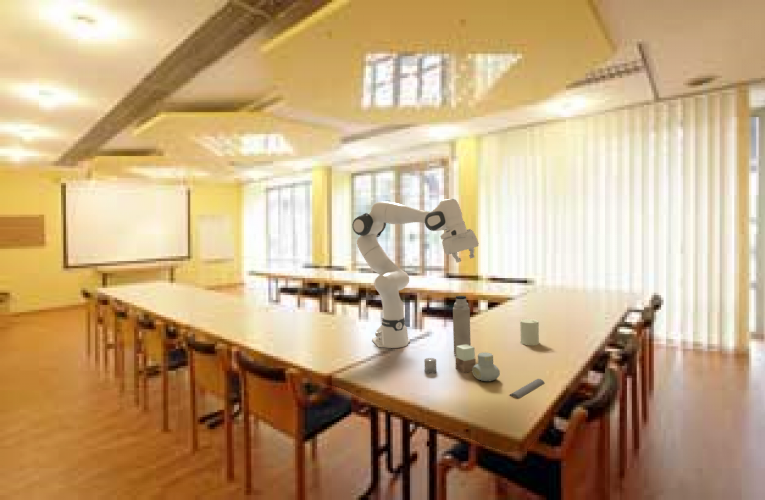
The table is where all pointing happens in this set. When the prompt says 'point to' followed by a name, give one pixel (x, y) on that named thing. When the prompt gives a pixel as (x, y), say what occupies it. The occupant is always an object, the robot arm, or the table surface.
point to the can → (529, 331)
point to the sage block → (465, 352)
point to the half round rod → (527, 388)
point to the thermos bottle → (461, 322)
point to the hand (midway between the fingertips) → (465, 260)
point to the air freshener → (485, 368)
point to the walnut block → (465, 365)
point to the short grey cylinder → (430, 365)
